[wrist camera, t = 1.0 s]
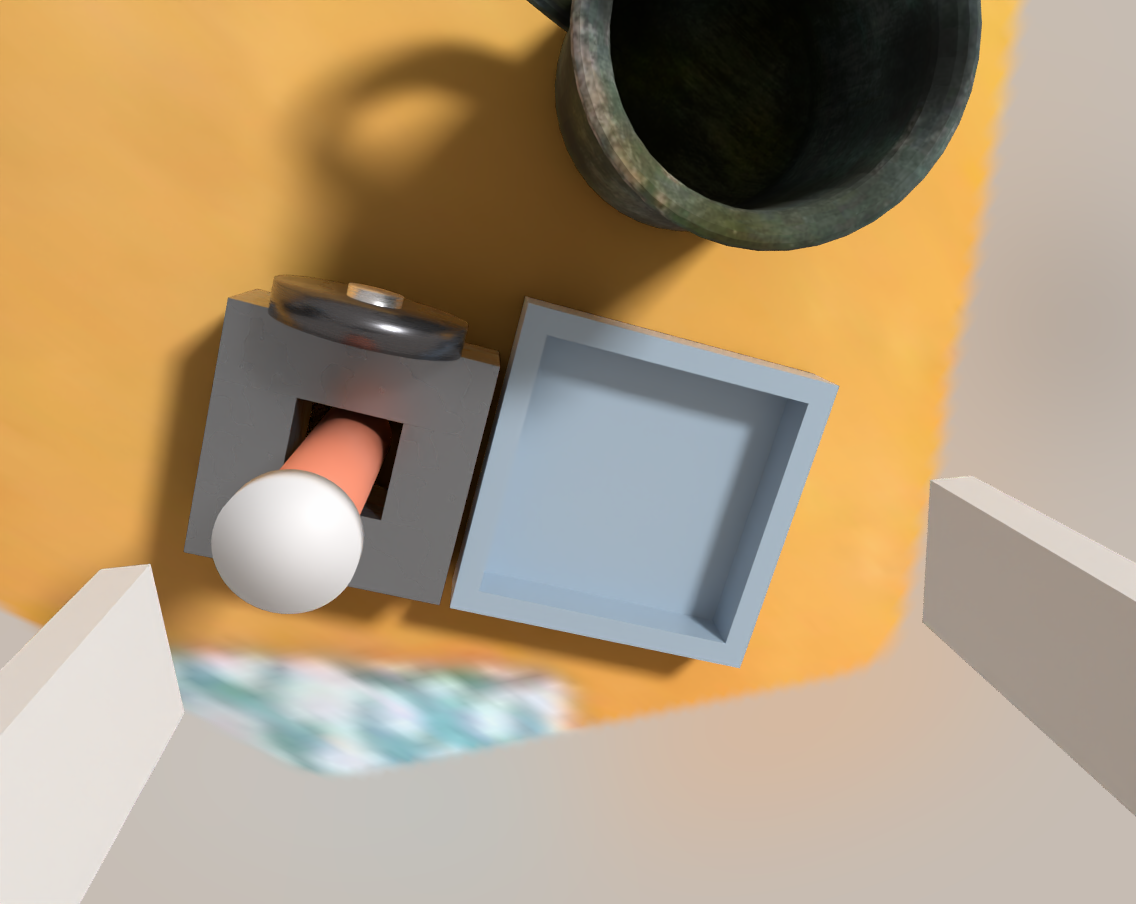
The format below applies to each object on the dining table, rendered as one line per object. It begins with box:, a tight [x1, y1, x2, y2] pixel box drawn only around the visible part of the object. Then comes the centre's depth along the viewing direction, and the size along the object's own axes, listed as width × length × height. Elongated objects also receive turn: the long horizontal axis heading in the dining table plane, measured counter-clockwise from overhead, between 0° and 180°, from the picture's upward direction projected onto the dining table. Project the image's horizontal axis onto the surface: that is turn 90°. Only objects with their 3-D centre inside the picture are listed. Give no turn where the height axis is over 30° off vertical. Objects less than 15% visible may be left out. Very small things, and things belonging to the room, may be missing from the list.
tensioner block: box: [184, 275, 500, 605], centre depth 32 cm, size 10×12×8 cm
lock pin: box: [211, 407, 392, 614], centre depth 30 cm, size 4×4×13 cm
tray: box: [450, 296, 839, 668], centre depth 36 cm, size 13×13×3 cm
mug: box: [527, 0, 982, 251], centre depth 28 cm, size 11×15×12 cm
